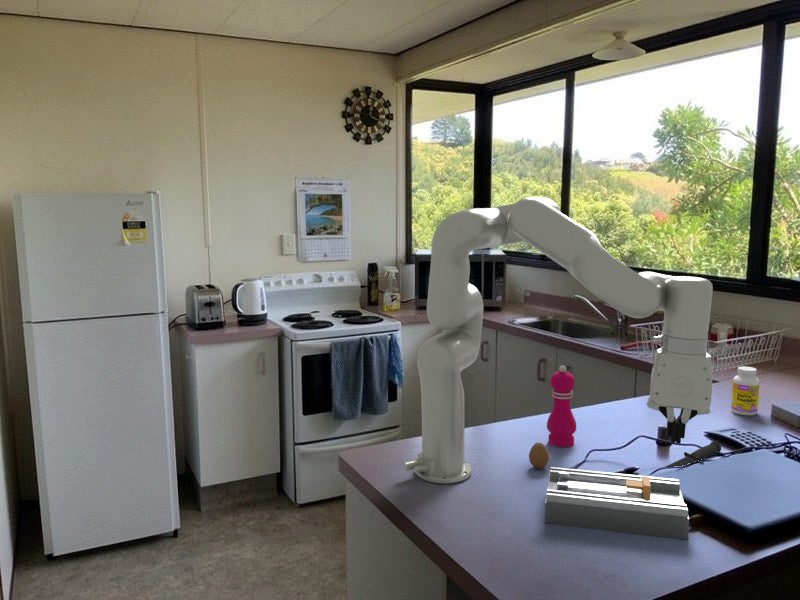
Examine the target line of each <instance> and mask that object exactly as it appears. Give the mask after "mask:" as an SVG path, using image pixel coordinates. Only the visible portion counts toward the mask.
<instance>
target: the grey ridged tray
mask: <svg viewBox="0 0 800 600" xmlns="http://www.w3.org/2000/svg"><path fill="white" fill-rule="evenodd" d="M642 476H643V475H638V474H637V475H636V474H628V473H627V474H626V473H617V472H608V471H607V472H606V471H595V470H588V469H587V470H585V469H577V468H576V469H575V468H566V467H565V468H564V467H553V466H550V470H549V474H548V482H547V488H546V489H547V490H546V495H545V496H546V497H545V501H544V504H545V505H544V523H545V524H546V523H547V524H551V525H560V526H568V527H576V528H577V527H579V528H587V529H595V530H601V531H611V532H616V533H617V532H619V533H626V534H627V533H628V534H635V535H644V536H649V537H659V538H668V539H675V540H677V539H678V540H685V541H688V540H689V530H690V517H689V509H688V506H687V503H685V501H684V498H683V495H682V491H681V483H680V479H678V478H668V477H667V478H666V477H658V476H648V475H647V477H649V480H650V485H651V492H650V500H644V499H643V497H642V499H641V498H631V497H622V496H612V495H603V494H593V493H584V492H574V491H568V483H562V482H561V480H562V479H564V480H566V481H574V482H584V483H594V484H603V485H613V486H623V487H626V480H632V481H642Z"/></svg>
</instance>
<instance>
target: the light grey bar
mask: <svg viewBox="0 0 800 600" xmlns="http://www.w3.org/2000/svg"><path fill="white" fill-rule="evenodd" d="M561 482H562V483H568V491H574V492H584V493H593V494H603V495H612V496H622V497H631V498H641V499H642V491H641V490H639V489H630V488H626V487H623V486H613V485H603V484H594V483H584V482H574V481H566V480H564V479H562V480H561Z"/></svg>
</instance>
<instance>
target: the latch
mask: <svg viewBox="0 0 800 600" xmlns="http://www.w3.org/2000/svg"><path fill="white" fill-rule="evenodd" d="M641 476H642V481H632V480H626V488H630V489H639V490H641V491H642V497H643V499H644V500H650V492H651V485H650V480H649V477H650V476H649V477H647V476H648V475H647V476H646V475H641Z"/></svg>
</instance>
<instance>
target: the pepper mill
mask: <svg viewBox="0 0 800 600" xmlns="http://www.w3.org/2000/svg"><path fill="white" fill-rule="evenodd" d="M558 370H559V371H555V372H554V373H553V374H552V375H551V376H550V379H549V383H550V386H551V388H552V390H551V396H552V397H553V406H552V409H551V412H550V414H549V416H548V419H547V422H546V429H547V431H548V432H549V434H548V443H549V445H551V446H553V445H554V447H556V446H557V448H569V447H572V446H574V445H575V436H574V434H575V433H576V431H577V422H576V419H575V416H574V414H573V412H572V409H571V400H572V399H571V398H573V389H574V387H575V386H576V380H575V377H574V375H573V374H572V373H570V372H569V371H567V366H565V365H560V366H559V368H558Z"/></svg>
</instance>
